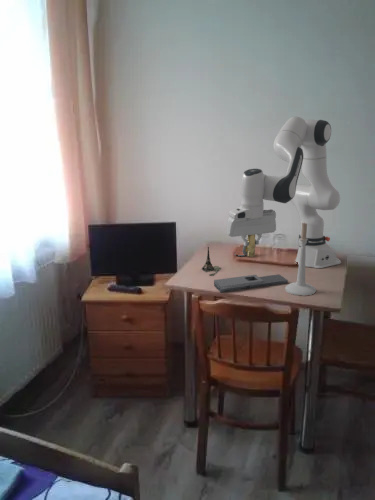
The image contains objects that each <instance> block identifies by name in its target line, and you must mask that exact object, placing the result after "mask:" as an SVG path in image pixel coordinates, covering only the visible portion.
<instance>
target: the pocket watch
mask: <svg viewBox="0 0 375 500" xmlns="http://www.w3.org/2000/svg"><path fill="white" fill-rule="evenodd" d="M246 240H247V241H248V237H246ZM247 247H248V246H244V245H243V246H242V252H243V254H244V255H238V256H237V257H240V256H241V257H246V256H247ZM245 255H246V256H245ZM234 256H236V254H235V253H234Z"/></svg>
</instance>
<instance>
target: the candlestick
mask: <svg viewBox="0 0 375 500" xmlns="http://www.w3.org/2000/svg"><path fill="white" fill-rule="evenodd" d="M306 233H307V223H302V234H301V238H299V237H298V240H299V239H300V243H301V247H300V248H301V249H300V258H299V264H298V268H297V277H296V281H295V282H291V283H289V284H288V283H287V285H286V286H285V287H284V288H285V289H284V291H286V293H288V294H291V295H293V294H294V295H293V296H297V295H302V296H301V297H306V296H305V295H310V296H313V295H315V294H316V293H317V288H316V287H315V286H314V285H312V284H310V283H307V282H306V266H305V249H306V247H305V245H306V243H307V240H308V239H307V238H306ZM315 292H316V293H315ZM314 293H315V294H314ZM312 294H313V295H312Z"/></svg>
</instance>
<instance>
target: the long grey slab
mask: <svg viewBox="0 0 375 500" xmlns="http://www.w3.org/2000/svg"><path fill="white" fill-rule="evenodd" d="M213 282H214V283H213V285H214V287H215V288H216V290H218V291H219V293H227V292H233V291H240V290H241V291H242V290H249V289H255V288H263V287H264V288H265V287H270V286H278V285H284V284H288V279H287V278H285V277H284V276H282V275H281V274H272V275H271V274H270V275H263V276H258V275H257V274H251V275H250V274H249V275H243V276H235V277H227V278H226V277H225V278H218V279H214V280H213Z"/></svg>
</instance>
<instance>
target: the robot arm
mask: <svg viewBox="0 0 375 500" xmlns="http://www.w3.org/2000/svg"><path fill="white" fill-rule="evenodd" d="M331 135H332V127H331V124H330V123H329V121H327V120H323V119H304V118H303V117H300V116H292V117H290V118H288V119H287V120H286V121H285V123H283V125H282V127H281V128H280V129H279V130H278V132H277V134H276V135H275V136H276V137H275V138H274V141H273V151H274V153H275V154H276V156H277V157H278V158H279V159H281V160H283V161H285V162H287V163H288V165H287V169H286V173H285V174H284V175H282V176H276V175H275V176H274V175H273V176H272V175H267V174H264V171H263V170H262V169H260V168H249V169H246V170H244V172H243V173H242V175H241V177H242V178H241V182H240V183H241V184H240V186H241V187H240V194H241V202H240V205H239V206H237V207H235V208H233V209H231V210H229V211H228V215H229V217H228V219H227V222H226V234H227V235H228V236H229V237H231V238H235V237H241V239H242V240H243V246H249V241H247V240H248V239H247V238H248V235H254V234H255V236H256V237H255V246H257V245H259V244H260V240H261V238H262V236H263V234H273V233H275V232H276V231H277V221H276V216H277V213H276V211H275V210H273V209H264V203H265V202H264V201H270V202H271V201H272V202H278V203H280V204H288V202H291V203H292V204H293V206H294V208H296V210H297V213H298V215H299V222H300V224H299V227H300V230H299V235H298V250H297V254H296V258H295V259H294V262H295V261H296V262H298V264H297V265H299V258H300V249H301V248H300V247H301V243H300V239H299V238H301V234H302V223H307V233H306V238H307V239H308V240H307V243H306V245H305V247H306V249H305V268H306V267H307V268H313V269H314V268H315V269H324V268H327V267H331V266H336V265H341V264H342V262H341V260H340V259H339V258H338V257H337V252H336V250H335V249H334V248H333V247H331V246H330V245H329V244H328V243H327V242H330V241H331V238H330V237H329V236H325V235H324V226H325V222H324V219H323V218H322V217H321V216H320V215H319V214H318V212H317V210H321V211H332V210H336V208H337V207H338V206H339V204H340V202H341V196H340V192H339V191H338V189H336V188H335V186H333V184H332V183H331V181H330V178H329V176H328V168H327V166H328V165H327V145H326V144H327V143H328V142H329V141H330V139H331ZM301 172H302V175H303V176H304V178H305V179H307V180H308V182H309V183H310V184H307V183H306V184H305V183H302V184H298V180H299V176H300V173H301ZM326 241H327V242H326ZM296 262H295V263H296Z"/></svg>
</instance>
